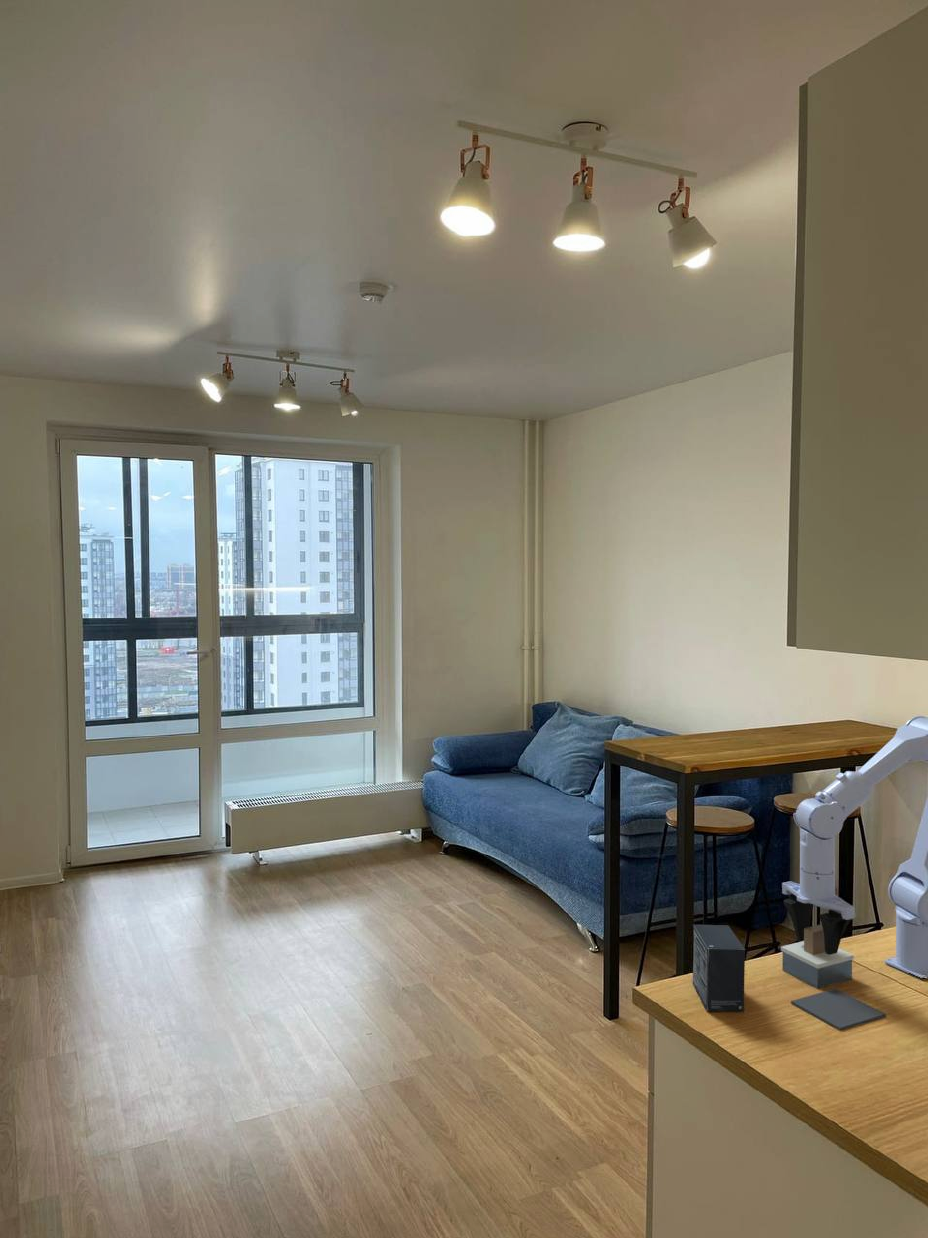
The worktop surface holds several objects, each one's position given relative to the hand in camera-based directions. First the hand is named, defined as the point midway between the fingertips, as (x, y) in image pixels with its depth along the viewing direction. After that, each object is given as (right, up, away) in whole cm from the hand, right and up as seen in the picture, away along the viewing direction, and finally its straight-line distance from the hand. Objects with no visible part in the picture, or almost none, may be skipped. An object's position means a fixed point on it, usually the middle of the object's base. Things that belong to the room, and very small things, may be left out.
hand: (816, 946), depth 160 cm
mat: (-2, -6, -13) cm, 14 cm away
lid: (0, -2, 0) cm, 2 cm away
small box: (-19, -6, -8) cm, 22 cm away
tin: (0, -5, 0) cm, 5 cm away
